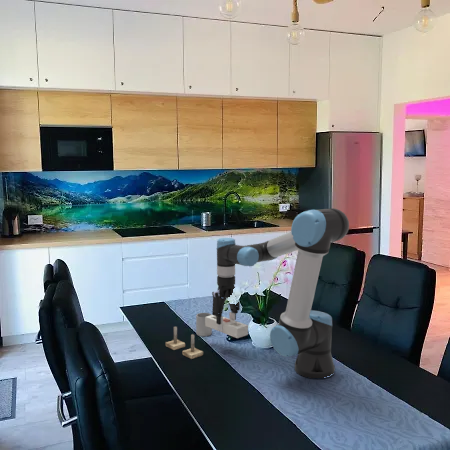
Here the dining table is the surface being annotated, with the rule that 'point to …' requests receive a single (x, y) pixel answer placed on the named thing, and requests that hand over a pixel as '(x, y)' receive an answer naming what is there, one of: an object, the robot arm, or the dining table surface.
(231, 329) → the power strip
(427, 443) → the dining table surface
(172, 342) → the wooden peg stand
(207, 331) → the cup
